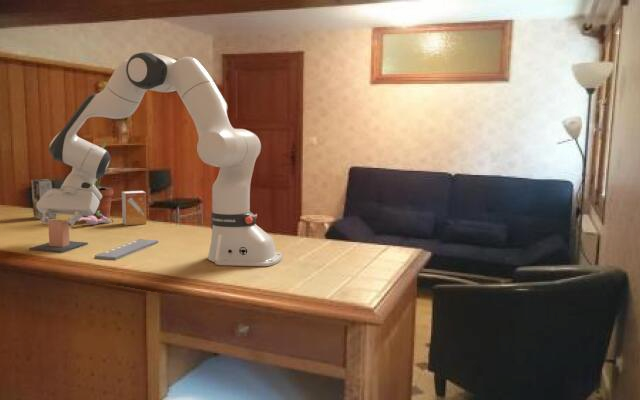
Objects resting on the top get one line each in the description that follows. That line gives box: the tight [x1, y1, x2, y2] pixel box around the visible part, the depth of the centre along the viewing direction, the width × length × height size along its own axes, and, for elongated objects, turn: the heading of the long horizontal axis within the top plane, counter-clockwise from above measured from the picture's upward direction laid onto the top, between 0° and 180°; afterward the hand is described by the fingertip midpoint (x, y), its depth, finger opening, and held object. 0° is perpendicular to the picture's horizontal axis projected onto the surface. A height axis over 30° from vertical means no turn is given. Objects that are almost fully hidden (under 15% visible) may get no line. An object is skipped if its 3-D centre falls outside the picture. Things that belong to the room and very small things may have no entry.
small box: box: [121, 190, 147, 226], centre depth 206 cm, size 8×6×13 cm
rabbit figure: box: [76, 211, 114, 226], centre depth 203 cm, size 6×6×15 cm
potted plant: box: [82, 140, 114, 219], centre depth 211 cm, size 16×15×35 cm
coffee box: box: [30, 178, 57, 221], centre depth 215 cm, size 9×6×16 cm
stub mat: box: [28, 240, 89, 254], centre depth 166 cm, size 12×12×1 cm
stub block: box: [47, 219, 70, 247], centre depth 165 cm, size 5×3×8 cm, turn 78°
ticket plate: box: [94, 238, 159, 261], centre depth 164 cm, size 7×24×1 cm, turn 168°
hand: (56, 223), depth 164 cm, fingers open, 8 cm apart
